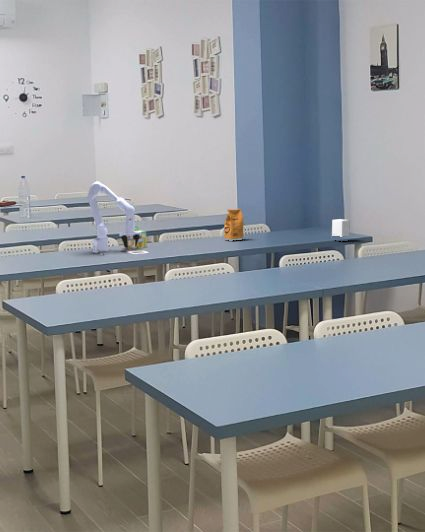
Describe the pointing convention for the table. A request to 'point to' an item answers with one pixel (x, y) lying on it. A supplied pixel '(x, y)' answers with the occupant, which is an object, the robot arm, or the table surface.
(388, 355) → the table surface
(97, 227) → the robot arm
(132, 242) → the beech block
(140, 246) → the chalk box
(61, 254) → the table surface
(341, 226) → the supplement box
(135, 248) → the rail plate
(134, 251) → the parts tray
